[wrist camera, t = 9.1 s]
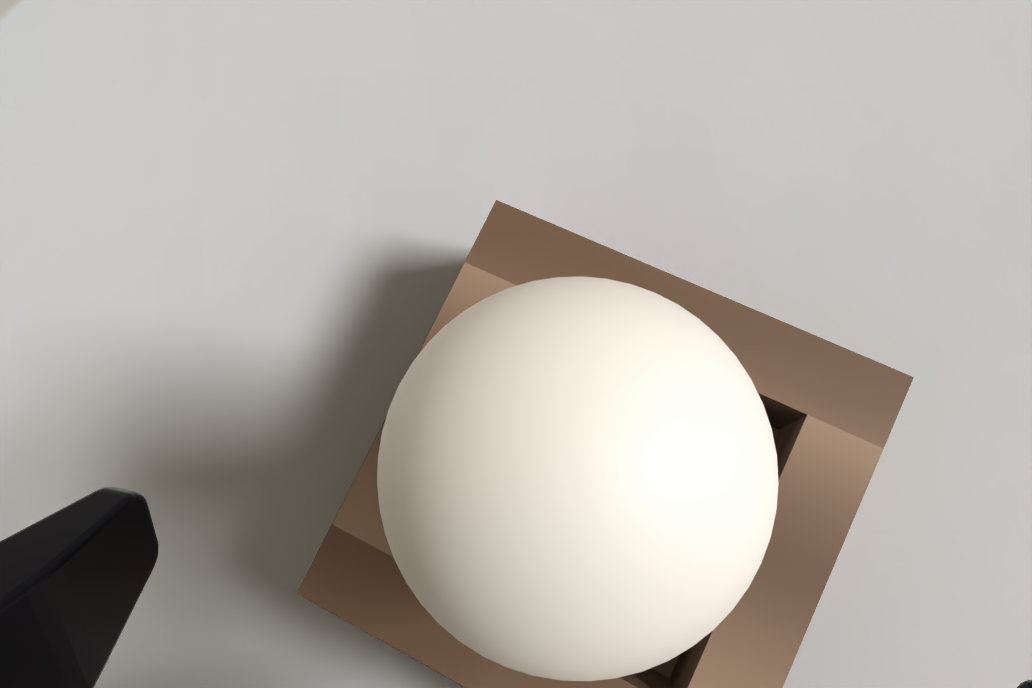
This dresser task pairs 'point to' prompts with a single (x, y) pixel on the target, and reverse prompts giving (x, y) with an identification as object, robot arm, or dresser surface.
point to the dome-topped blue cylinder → (577, 478)
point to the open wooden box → (800, 458)
